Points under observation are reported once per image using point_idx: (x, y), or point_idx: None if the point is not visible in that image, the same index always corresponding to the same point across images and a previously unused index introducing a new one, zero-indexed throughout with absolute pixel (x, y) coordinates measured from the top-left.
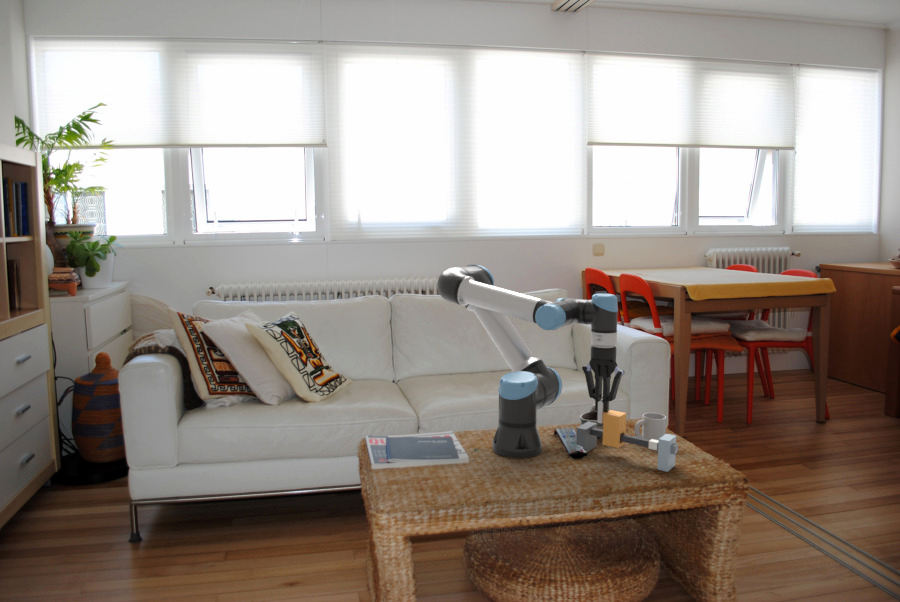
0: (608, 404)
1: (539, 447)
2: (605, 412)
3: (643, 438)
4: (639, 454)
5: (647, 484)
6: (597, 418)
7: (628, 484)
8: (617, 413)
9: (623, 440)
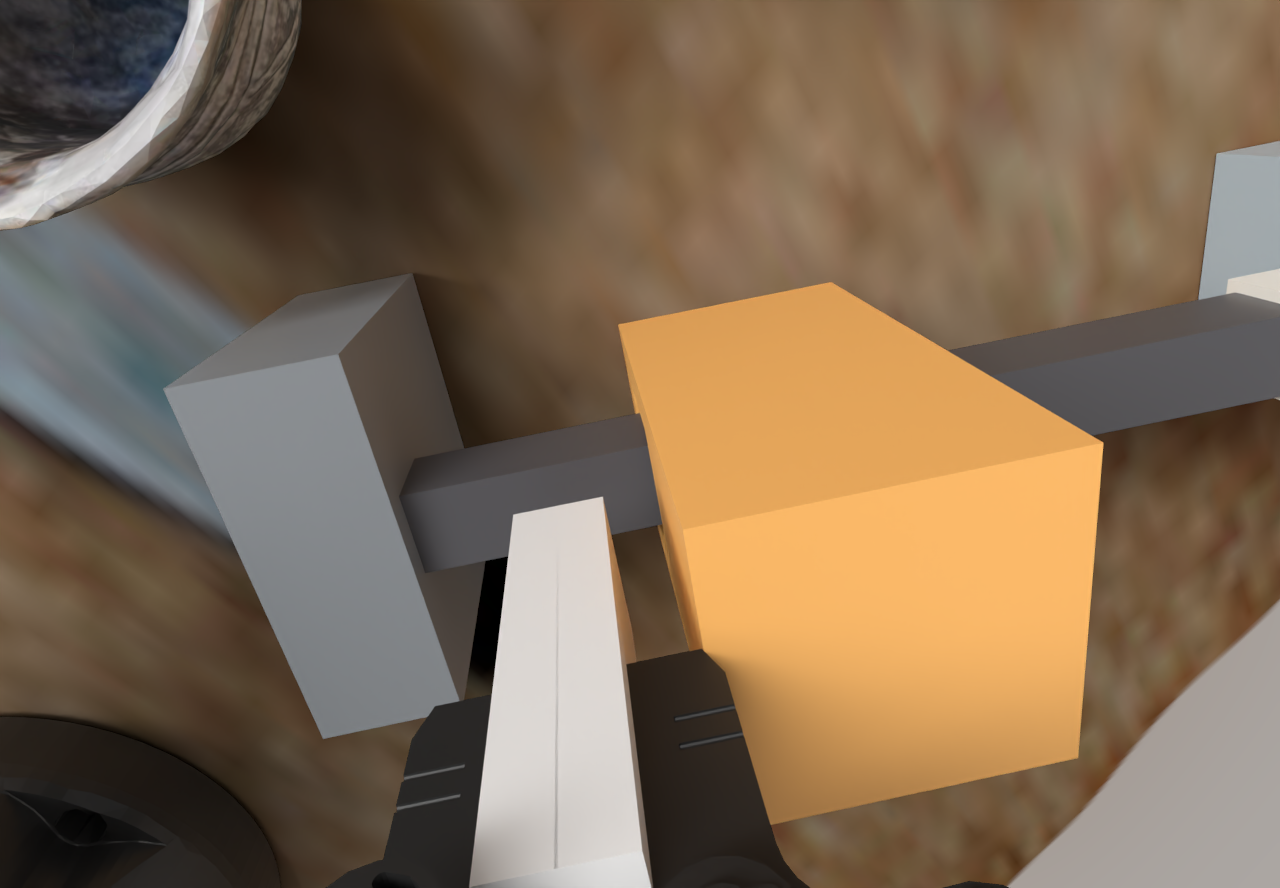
0: (765, 818)
1: (236, 879)
2: (620, 621)
3: (1198, 342)
4: (907, 111)
5: (1196, 657)
6: None
7: (1085, 743)
8: (948, 621)
9: None
